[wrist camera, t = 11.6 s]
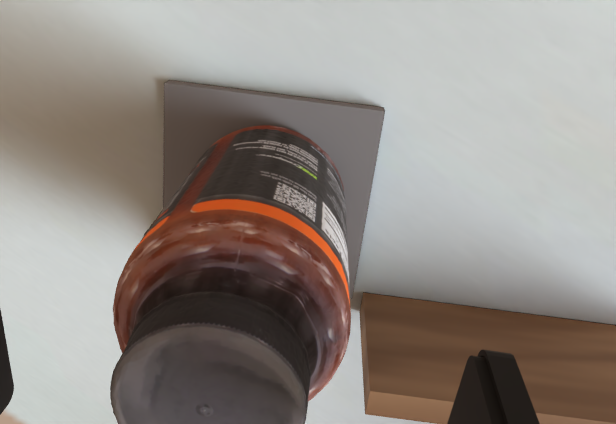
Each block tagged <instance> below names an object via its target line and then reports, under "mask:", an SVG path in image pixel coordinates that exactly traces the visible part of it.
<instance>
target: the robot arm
mask: <svg viewBox="0 0 616 424" xmlns="http://www.w3.org/2000/svg"><path fill="white" fill-rule="evenodd" d="M13 390H14V384H13V379H12V373H11V367H10V362H9V356H8V350H7V344H6V339H5V333H4V327H3V321H2V316H1V310H0V414H1V413H2V412H3V411H4V409H5V408H6V407H7V405H8V404H9V402H10V400H11V398H12V395H13ZM447 424H540V423H539V421H538V418H537V415H536V413H535V410H534V407H533V405H532V402H531V399H530V397H529V394H528V391H527V389H526V386H525V383H524V381H523V378H522V375H521V373H520V370H519V367H518V365H517V362H516V359H515V357H514V355H512V354H511V353H504V352H498V351H491V350H484V349H483V350H481V351H480V352H479V353H478V356H472V355H471V356H469V358H468V360H467V363H466V366H465V369H464V372H463V375H462V379H461V382H460V385H459V388H458V391H457V394H456V398H455V401H454V404H453V407H452V410H451V413H450V416H449V420H448V423H447Z"/></svg>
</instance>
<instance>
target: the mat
mask: <svg viewBox="0 0 616 424" xmlns="http://www.w3.org/2000/svg"><path fill="white" fill-rule="evenodd" d="M384 114H385V110H384V108H383V107H375V106H368V105H360V104H352V103H344V102H336V101H329V100H321V99H313V98H305V97H297V96H290V95H282V94H274V93H266V92H258V91H251V90H243V89H235V88H227V87H219V86H212V85H204V84H196V83H188V82H180V81H173V80H168V81H167V82H165V83H164V188H163V209H164V207H165V206H166V205H167V203H168V202H169V200H170V199H171V197H172V196H173V195H174V194H175V192H176V191H177V189H178V188H179V186H180V185H181V184H182V183H183V181H184V180H185V178H186V177H187V175H188V174H189V173H190V171H191V170H192V169H193V167H194V166H195V164H196V163H197V161H198V160H199V159H200V157H201V156H202V155H203V154H204V153H205V152H206V151H207V150H208V149H209V148H210V147H211V146H212V145H213V144H214V143H215V142H216V141H217V140H219V139H221V138H222V137H224V136H226V135H228V134H230V133H232V132H234V131H237V130H240V129H243V128H247V127H252V126H260V125H271V126H277V127H283V128H287V129H290V130H292V131H295V132H298V133H300V134H302V135H304V136H306V137H308V138H309V139H311V140H312V141H313V142H314V143H316V144H317V145H318V146H319V147H320V148H321V149H322V150H324V151H325V152H326V153H327V154H328V155H329V157H330V158H331V160H332V161H333V163H334V164H335V166H336V168H337V170H338V172H339V175H340V177H341V180H342V183H343V187H344V194H345V202H346V223H347V245H348V269H349V287H350V299H352V296H353V290H354V284H355V279H356V273H357V267H358V261H359V256H360V250H361V244H362V239H363V233H364V227H365V222H366V216H367V210H368V205H369V199H370V193H371V188H372V182H373V176H374V171H375V165H376V159H377V154H378V148H379V142H380V137H381V131H382V125H383V120H384Z"/></svg>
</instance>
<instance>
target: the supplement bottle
mask: <svg viewBox="0 0 616 424" xmlns="http://www.w3.org/2000/svg"><path fill="white" fill-rule="evenodd" d="M113 312H114V326H115V331H116V334H117V338H118V342H119V345H120V349H121V351H122V353H123V354H122V355H121V357H120V359H119V361H118V363H117V364H116V367H115V369H114V371H113V375H112V380H111V388H110V390H111V393H110V394H111V405H112V407H113V413H114V415H115V416H116V419H117V422H118V424H305V420H306V414H307V406H308V401H309V400H311V399H312V398H313V397H314V396H315V395H316V394H317V393H318V392H320V391H321V390H322V389H323V388H324V387H325V386H326V385H327V384H328V382H329V381H330V380H331V379H332V377H333V375H334V373H335V372H336V370H337V368H338V367H339V365H340V363H341V361H342V359H343V357H344V354H345V352H346V348H347V344H348V340H349V335H350V324H351V312H350V287H349V269H348V245H347V223H346V202H345V194H344V187H343V183H342V180H341V177H340V175H339V172H338V170H337V168H336V166H335V164H334V163H333V161H332V160H331V158H330V157H329V155H328V154H327V153H326V152H325V151H324V150H322V149H321V148H320V147H319V146H318V145H317V144H316V143H314V142H313V141H312V140H311V139H309V138H308V137H306V136H304V135H302V134H300V133H298V132H295V131H292V130H290V129H287V128H283V127H277V126H271V125H260V126H252V127H247V128H243V129H240V130H237V131H234V132H232V133H230V134H228V135H226V136H224V137H222V138H221V139H219V140H217V141H216V142H215V143H214V144H213V145H212V146H211V147H210V148H209V149H208V150H207V151H206V152H205V153H204V154H203V155H202V156H201V157H200V159H199V160H198V161H197V163H196V164H195V166H194V167H193V169H192V170H191V171H190V173H189V174H188V175H187V177H186V178H185V180H184V181H183V183H182V184H181V185H180V186H179V188H178V189H177V191H176V192H175V194H174V195H173V196H172V197H171V199H170V200H169V202H168V203H167V205H166V206H165V207H164V209H163V210H162V212H161V213H160V214H159V216H158V217H157V219H156V220H155V221H154V222H153V224H152V225H151V226H150V228H149V229H148V230H147V231H146V233H145V234H144V236H143V238H142V240H141V242H140V243H139V244H138V245H137V247H136V248H135V250H134V251H133V253H132V254H131V256H130V257H129V259H128V261H127V263H126V265H125V267H124V269H123V272H122V274H121V276H120V278H119V281H118V284H117V288H116V293H115V299H114V305H113Z"/></svg>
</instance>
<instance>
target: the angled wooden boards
mask: <svg viewBox="0 0 616 424" xmlns="http://www.w3.org/2000/svg"><path fill="white" fill-rule="evenodd" d="M360 328H361V346H362V365H363V383H364V402H365V414H368V415H376V416H383V417H391V418H398V419H406V420H414V421H421V422H429V423H437V424H447V423H448V420H449V416H450V413H451V410H452V407H453V404H454V401H455V398H456V394H457V391H458V388H459V385H460V382H461V379H462V375H463V372H464V369H465V366H466V363H467V360H468V358H469V356H471V355H472V356H478V353H479V352H480V351H481V350H483V349H484V350H491V351H498V352H504V353H511V354H512V355H514V357H515V359H516V362H517V365H518V367H519V370H520V373H521V375H522V378H523V381H524V383H525V386H526V389H527V391H528V394H529V397H530V399H531V402H532V405H533V407H534V410H535V413H536V415H537V418H538V421H539V423H540V424H616V325H609V324H601V323H594V322H586V321H578V320H571V319H563V318H555V317H548V316H540V315H532V314H524V313H517V312H509V311H501V310H494V309H486V308H478V307H470V306H463V305H455V304H447V303H440V302H432V301H424V300H417V299H409V298H401V297H393V296H386V295H378V294H370V293H363V297H362V302H361V307H360Z"/></svg>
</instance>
